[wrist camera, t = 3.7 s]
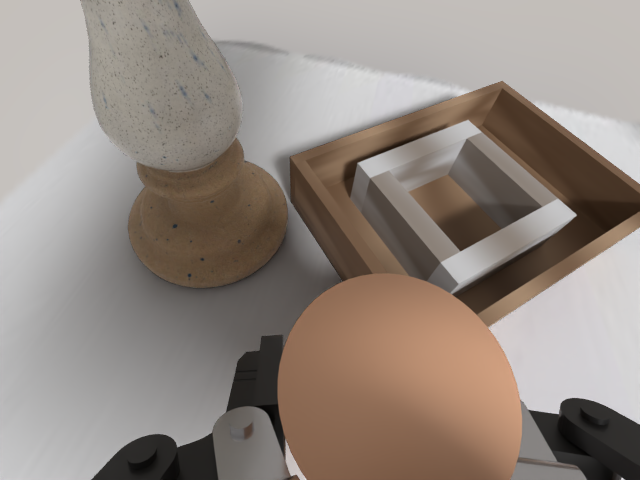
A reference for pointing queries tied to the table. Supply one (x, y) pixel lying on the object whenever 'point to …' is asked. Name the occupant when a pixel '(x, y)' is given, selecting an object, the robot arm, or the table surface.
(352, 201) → the box
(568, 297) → the table surface
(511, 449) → the peg
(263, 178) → the candle holder
